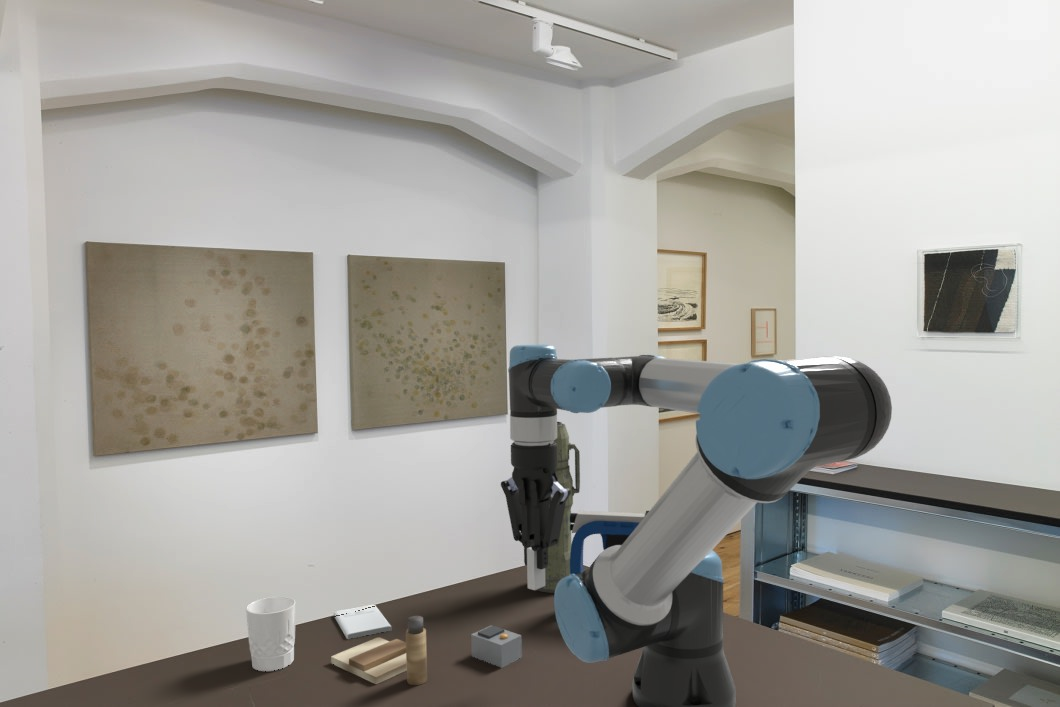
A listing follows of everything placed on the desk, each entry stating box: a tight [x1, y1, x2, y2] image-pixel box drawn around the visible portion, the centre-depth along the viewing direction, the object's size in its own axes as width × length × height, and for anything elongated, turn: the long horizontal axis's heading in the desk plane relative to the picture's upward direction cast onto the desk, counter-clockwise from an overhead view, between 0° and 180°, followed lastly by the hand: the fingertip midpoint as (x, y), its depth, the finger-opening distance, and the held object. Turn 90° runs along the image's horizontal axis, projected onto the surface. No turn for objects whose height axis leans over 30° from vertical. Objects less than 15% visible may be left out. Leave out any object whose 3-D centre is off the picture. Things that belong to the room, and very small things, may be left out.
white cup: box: [245, 596, 296, 672], centre depth 131 cm, size 8×8×10 cm
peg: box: [405, 615, 428, 686], centre depth 123 cm, size 3×3×10 cm
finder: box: [470, 624, 523, 669], centre depth 132 cm, size 7×5×4 cm
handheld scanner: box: [570, 510, 650, 574], centre depth 150 cm, size 5×16×20 cm, turn 79°
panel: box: [330, 636, 407, 685], centre depth 130 cm, size 12×10×2 cm
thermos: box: [536, 421, 581, 594], centre depth 165 cm, size 9×12×35 cm
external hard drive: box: [333, 604, 393, 640], centre depth 147 cm, size 2×8×12 cm
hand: (536, 586), depth 125 cm, fingers closed
